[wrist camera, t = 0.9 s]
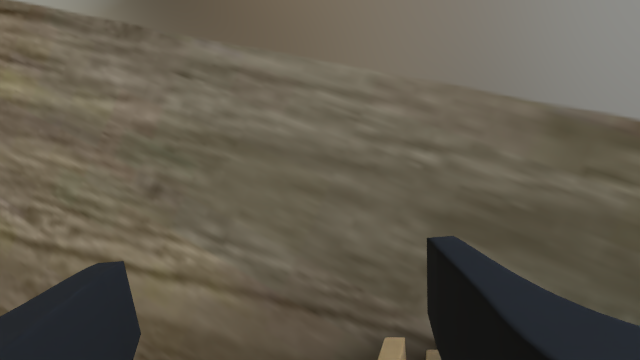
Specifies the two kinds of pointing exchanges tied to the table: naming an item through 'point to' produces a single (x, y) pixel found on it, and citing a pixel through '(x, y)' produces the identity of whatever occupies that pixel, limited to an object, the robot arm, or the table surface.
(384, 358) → the drawer
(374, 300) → the table surface
